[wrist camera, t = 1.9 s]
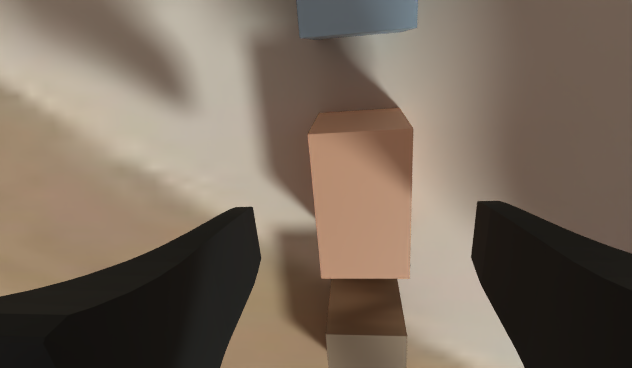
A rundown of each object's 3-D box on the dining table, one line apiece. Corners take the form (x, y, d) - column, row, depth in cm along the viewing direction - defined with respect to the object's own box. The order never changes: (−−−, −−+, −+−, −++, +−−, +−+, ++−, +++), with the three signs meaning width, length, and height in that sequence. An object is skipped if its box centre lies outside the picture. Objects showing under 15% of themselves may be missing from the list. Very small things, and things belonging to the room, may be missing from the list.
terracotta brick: (399, 107, 15) (413, 128, 11) (398, 227, 17) (409, 278, 13) (319, 112, 15) (307, 134, 12) (328, 228, 17) (321, 278, 14)
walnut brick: (396, 276, 18) (407, 336, 14) (396, 358, 20) (404, 428, 17) (331, 276, 19) (325, 334, 15) (338, 356, 21) (334, 423, 17)
